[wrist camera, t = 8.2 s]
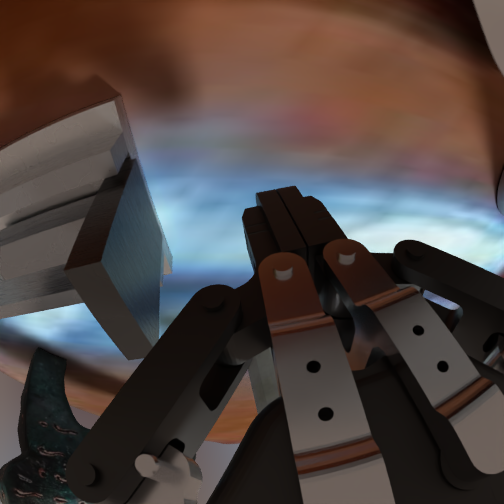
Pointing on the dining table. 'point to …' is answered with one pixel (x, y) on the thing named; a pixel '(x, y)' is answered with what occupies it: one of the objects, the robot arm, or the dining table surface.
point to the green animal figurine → (43, 438)
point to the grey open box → (62, 190)
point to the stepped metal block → (100, 256)
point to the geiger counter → (263, 379)
